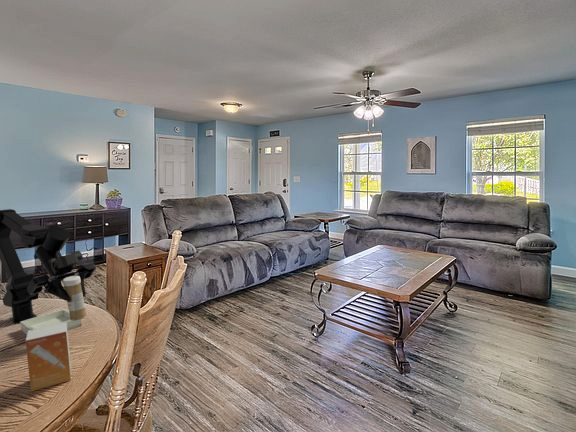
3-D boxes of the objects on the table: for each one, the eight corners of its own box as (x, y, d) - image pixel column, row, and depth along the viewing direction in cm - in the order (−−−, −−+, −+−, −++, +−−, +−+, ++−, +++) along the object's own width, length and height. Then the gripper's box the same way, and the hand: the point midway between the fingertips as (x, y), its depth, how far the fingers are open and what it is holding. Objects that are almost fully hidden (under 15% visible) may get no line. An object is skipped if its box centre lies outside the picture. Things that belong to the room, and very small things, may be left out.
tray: (21, 330, 109) (20, 321, 109) (65, 316, 120) (64, 308, 119) (35, 341, 102) (34, 332, 101) (81, 325, 112) (80, 317, 112)
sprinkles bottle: (68, 318, 105) (60, 278, 103) (84, 312, 109) (76, 274, 106) (73, 322, 102) (65, 281, 100) (89, 316, 106) (82, 277, 103)
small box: (30, 392, 78) (24, 340, 76) (33, 379, 83) (27, 329, 81) (71, 380, 82) (66, 331, 81) (71, 368, 88) (66, 321, 86)
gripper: (28, 251, 95) (55, 293, 92) (90, 238, 112) (115, 274, 109) (15, 274, 99) (41, 315, 96) (77, 259, 116) (101, 294, 113)
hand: (77, 298), depth 103 cm, fingers closed on sprinkles bottle, 4 cm apart
